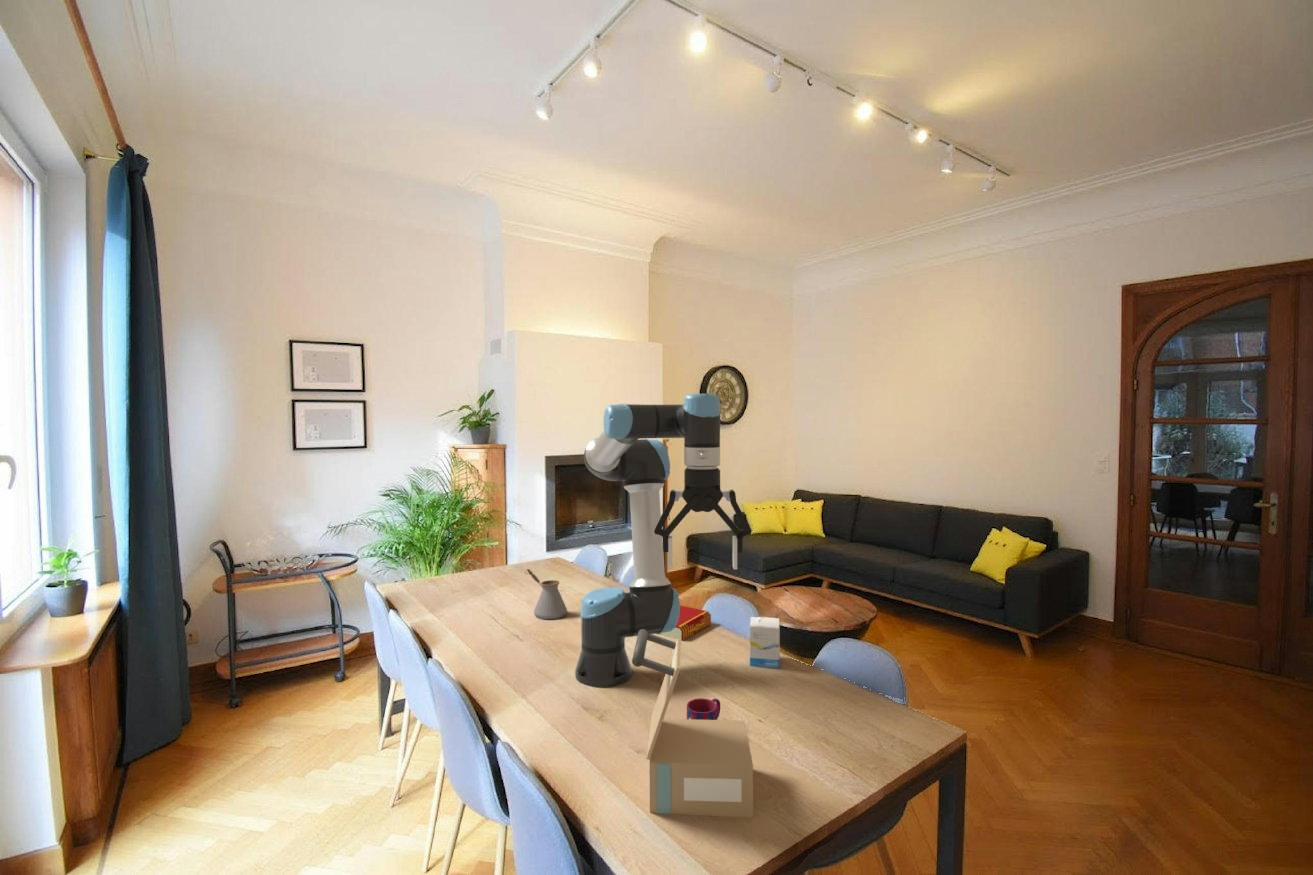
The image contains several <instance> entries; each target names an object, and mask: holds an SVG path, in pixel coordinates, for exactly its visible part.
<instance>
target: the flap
mask: <svg viewBox="0 0 1313 875" xmlns="http://www.w3.org/2000/svg"><path fill="white" fill-rule="evenodd" d="M675 640H676V641H672V640H670V639H666V638H663V637H660V636H658V635H656V634H649V633H648V632H647V630H645V629H641V630H640V631H639V632H638V636H636V642H635V646H634V651H633V656H632V658H631V663H632V665H633V666H634V667H637V668H638V667H644V668H647V669H650V670H654V671H656V672H659V673H663V674H665V675H664V678H663V681H662V684H661V686H660V689H659V693H658V696H657V698H656V702H655V704H654V708H653V711H652V714H651V718H650V725H649V734H648V735H649V736H648V744H647V751H646V758H645V759H646V760H649V761H650V757H651V754H652V751H653V748H654V745H655V742H656V739H657V736H658V733H659V731H660V728H661V725H662V722H663V719H665V715H666V712H667V709H668V706H669V703H670V701H671V697H672V695H673V692H674V689H675V687H676V686H675V685H676V682H677V680H678V677H679V673H680V671H681V658H682V656H681V655H682V654H681V653H682V652H681V651H682V647H681V646H682V641H681V638H680V637H678V639H675ZM647 642H652V643H653V644H656V645H660V646H663V647H667V648H669V649H672V653H671V658H670V661H669V663H668V665H666V664H662V663H659V662H656V661H654V660H651V659H648V658H645V654H646V649H647Z"/></svg>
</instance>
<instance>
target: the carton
mask: <svg viewBox="0 0 1313 875" xmlns="http://www.w3.org/2000/svg"><path fill="white" fill-rule="evenodd" d="M750 748H751V747H750V743H749V737H748V732H747V726H746V722H745V720H740V719H739V720H737V719H736V720H733V719H717V720H695V719H687V718H685V719H684V718H683V719H682V718H664V719H663V722H662V725H661V728H660V731H659V733H658V736H657V739H656V742H655V745H654V748H653V751H652V754H651V757H650V760H649V813H654V814H659V815H672V814H673V815H674V814H675V815H689V816H690V815H693V816H710V817H712V816H713V817H728V818H750V819H752V818H754V763H753V759H752V753H751V749H750Z"/></svg>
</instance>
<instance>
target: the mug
mask: <svg viewBox="0 0 1313 875" xmlns="http://www.w3.org/2000/svg"><path fill="white" fill-rule="evenodd" d="M720 712H721V702H720V700H719V698H713V699H709V698H702V697H701V698H700V697H699V698H695V699H694V698H693V699H691V700H689V701H688V702H687V704H686V719H695V720H719V719H718V718H719V717H720V715H721V714H720Z"/></svg>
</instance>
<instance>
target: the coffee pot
mask: <svg viewBox="0 0 1313 875" xmlns="http://www.w3.org/2000/svg"><path fill="white" fill-rule="evenodd" d="M526 572H527V573H526ZM524 573H525V574H526V575H528V574H529V575H531V578H532V579H533V580H534V581H535V583H537V584H539V586H540V587H541V588H542V590H541V592H540V595H539V597H538V600H537V602H536V605H535V608H534V610H533V613H534V616H535V617H536V618H538V619H540V620H547V621H548V620H549V621H550V620H557V619H561V618H563V617H564V616H565V615H567V610H568V609H567V606H566V604H565V601H564V600H563V597H562V595H561V593H560V591H559V589H558V587H559V585H560V581H559V580H554V579H553V580H545V581H542V582H541V581H540V579H539V578H538V577H537V576H536V575H535V574H534V573H533V571H531V569H529V568H527V569H526V570H525V571H524Z"/></svg>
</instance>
